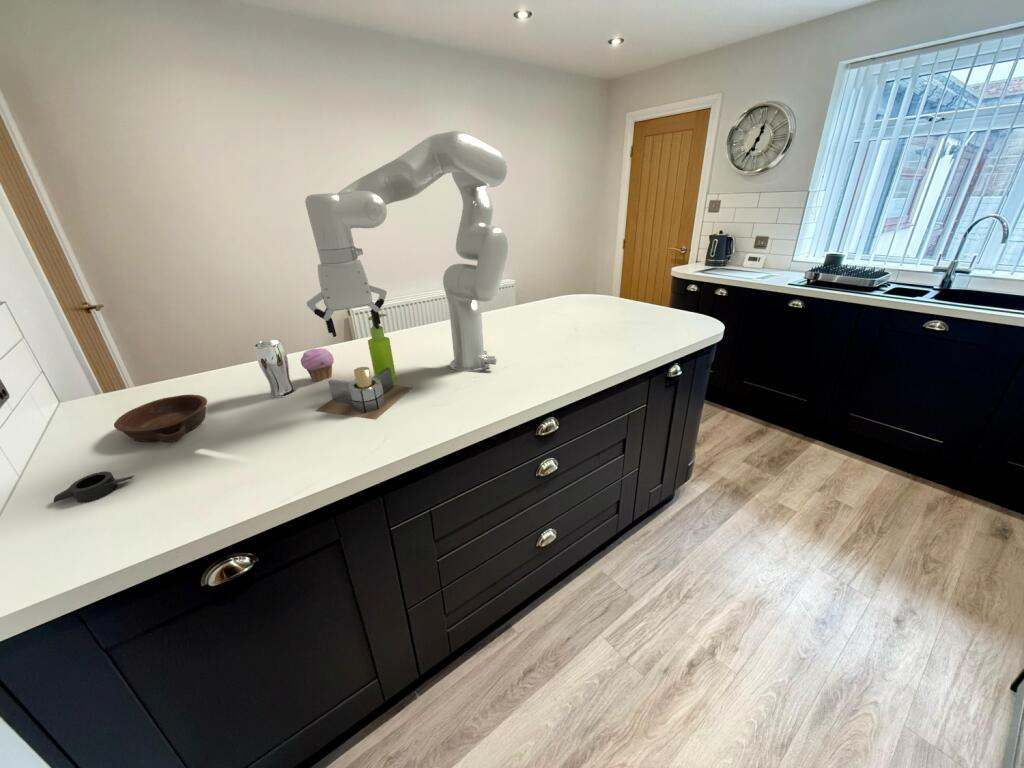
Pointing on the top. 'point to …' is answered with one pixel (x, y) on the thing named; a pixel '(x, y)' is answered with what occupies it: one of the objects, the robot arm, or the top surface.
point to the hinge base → (348, 410)
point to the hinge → (363, 392)
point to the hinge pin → (363, 377)
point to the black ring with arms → (91, 487)
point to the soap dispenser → (380, 350)
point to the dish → (163, 418)
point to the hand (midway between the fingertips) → (355, 331)
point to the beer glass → (275, 366)
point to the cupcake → (318, 363)
